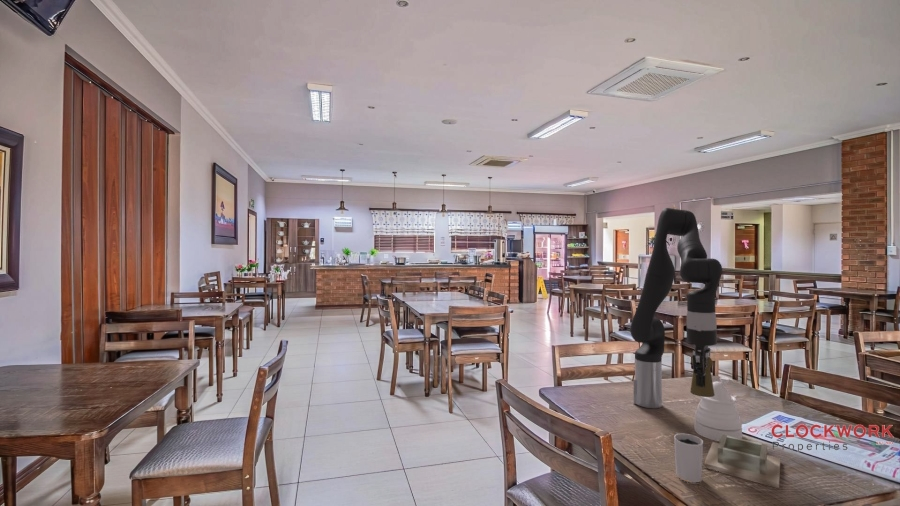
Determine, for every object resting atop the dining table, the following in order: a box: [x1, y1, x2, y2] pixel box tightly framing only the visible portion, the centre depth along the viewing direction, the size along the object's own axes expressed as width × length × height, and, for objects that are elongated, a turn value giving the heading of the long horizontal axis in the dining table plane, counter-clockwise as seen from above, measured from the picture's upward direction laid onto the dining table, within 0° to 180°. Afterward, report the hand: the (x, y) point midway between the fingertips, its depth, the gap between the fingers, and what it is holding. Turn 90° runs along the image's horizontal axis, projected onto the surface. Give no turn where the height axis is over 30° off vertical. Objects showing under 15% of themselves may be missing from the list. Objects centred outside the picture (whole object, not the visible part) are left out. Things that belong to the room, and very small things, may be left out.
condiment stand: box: [703, 434, 781, 489], centre depth 115 cm, size 16×16×5 cm
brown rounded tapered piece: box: [690, 356, 714, 397], centre depth 121 cm, size 6×6×11 cm
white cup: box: [673, 433, 704, 482], centre depth 109 cm, size 7×7×10 cm
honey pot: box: [694, 376, 743, 442], centre depth 134 cm, size 13×13×18 cm
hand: (702, 385), depth 121 cm, fingers closed on brown rounded tapered piece, 4 cm apart
